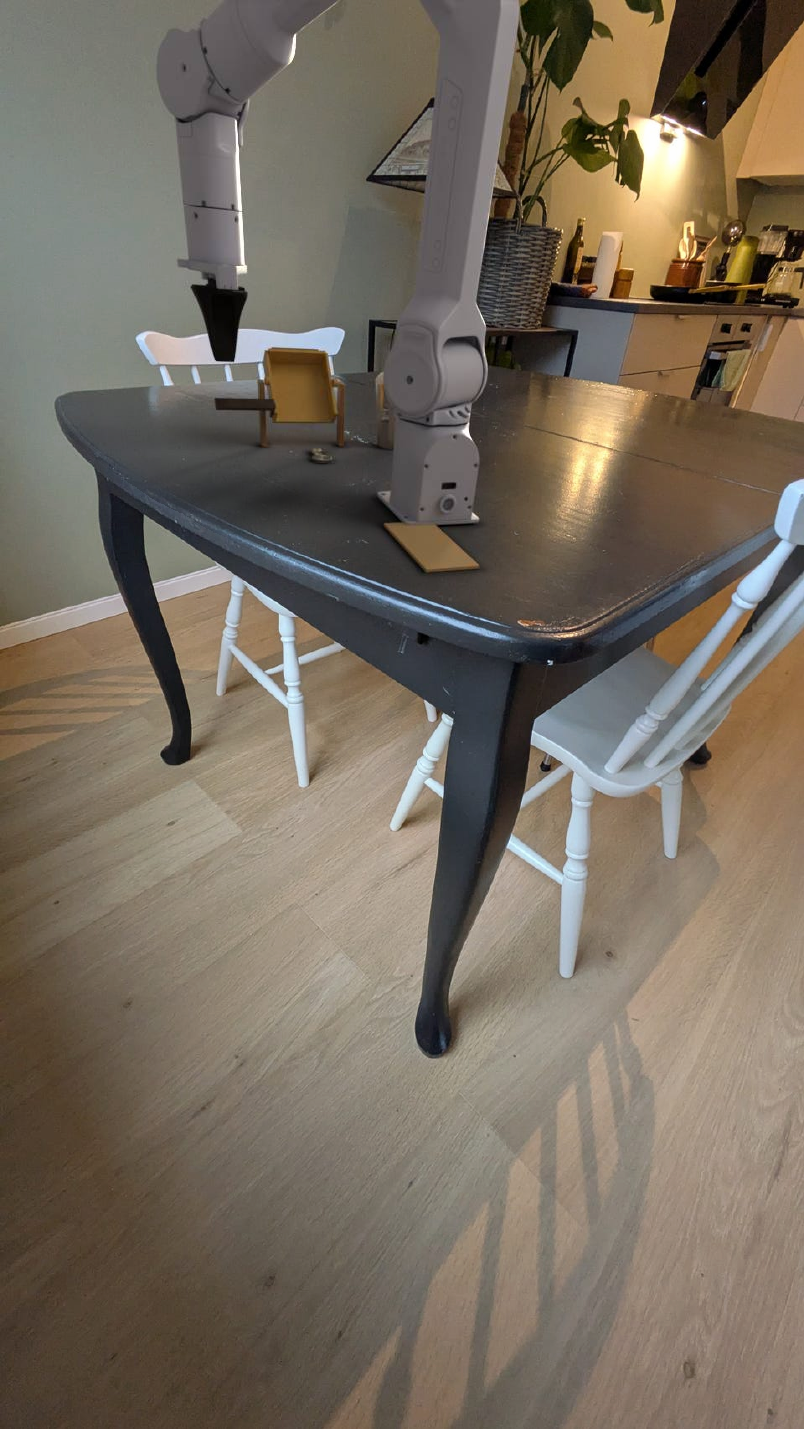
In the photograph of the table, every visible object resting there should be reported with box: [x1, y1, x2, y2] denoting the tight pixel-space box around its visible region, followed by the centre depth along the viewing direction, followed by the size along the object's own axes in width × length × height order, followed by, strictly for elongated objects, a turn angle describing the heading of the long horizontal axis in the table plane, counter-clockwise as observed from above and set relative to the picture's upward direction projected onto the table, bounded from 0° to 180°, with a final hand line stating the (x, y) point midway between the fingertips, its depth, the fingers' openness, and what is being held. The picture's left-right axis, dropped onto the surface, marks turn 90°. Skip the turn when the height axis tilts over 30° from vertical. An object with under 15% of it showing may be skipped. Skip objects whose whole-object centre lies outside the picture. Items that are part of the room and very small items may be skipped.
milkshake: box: [375, 371, 396, 450], centre depth 84 cm, size 4×5×10 cm
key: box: [308, 448, 333, 464], centre depth 79 cm, size 5×2×1 cm, turn 22°
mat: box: [383, 521, 480, 573], centre depth 58 cm, size 11×5×1 cm, turn 20°
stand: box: [257, 379, 346, 448], centre depth 81 cm, size 2×11×8 cm, turn 110°
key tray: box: [214, 346, 339, 424], centre depth 79 cm, size 9×16×3 cm
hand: (224, 361), depth 72 cm, fingers closed
